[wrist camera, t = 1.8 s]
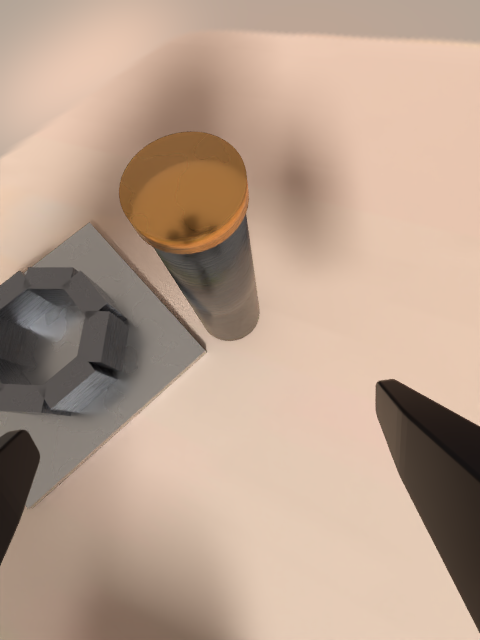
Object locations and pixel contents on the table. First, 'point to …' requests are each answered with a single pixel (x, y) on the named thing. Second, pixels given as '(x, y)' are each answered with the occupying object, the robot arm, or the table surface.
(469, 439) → the robot arm
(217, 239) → the copper capped metal cylinder
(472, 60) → the table surface
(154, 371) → the rosette collar
